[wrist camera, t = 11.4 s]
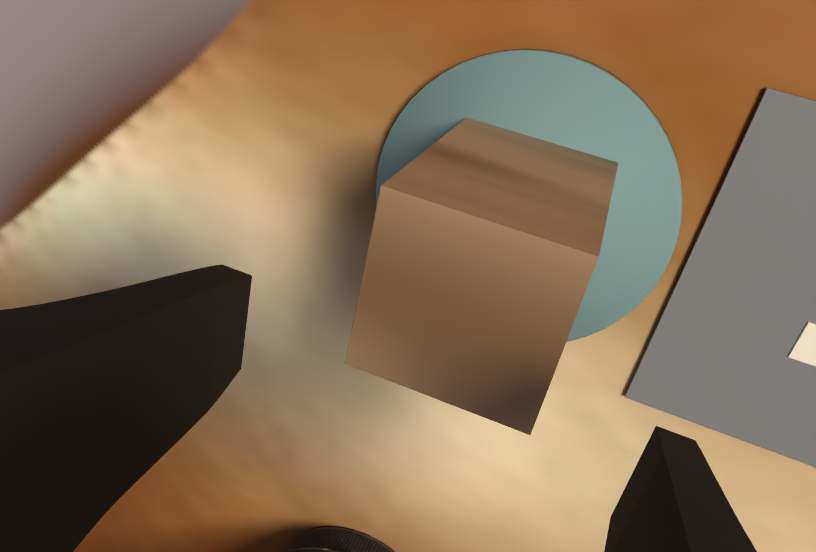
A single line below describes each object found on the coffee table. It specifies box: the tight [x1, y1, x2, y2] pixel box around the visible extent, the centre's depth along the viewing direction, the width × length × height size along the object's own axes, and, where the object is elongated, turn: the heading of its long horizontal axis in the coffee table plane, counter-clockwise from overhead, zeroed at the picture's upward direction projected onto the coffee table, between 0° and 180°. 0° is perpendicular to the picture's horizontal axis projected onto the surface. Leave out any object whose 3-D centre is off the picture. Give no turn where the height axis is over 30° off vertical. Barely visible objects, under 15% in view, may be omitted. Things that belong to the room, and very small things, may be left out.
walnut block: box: [345, 118, 618, 435], centre depth 17 cm, size 4×4×7 cm
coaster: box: [376, 49, 682, 342], centre depth 20 cm, size 9×9×1 cm
